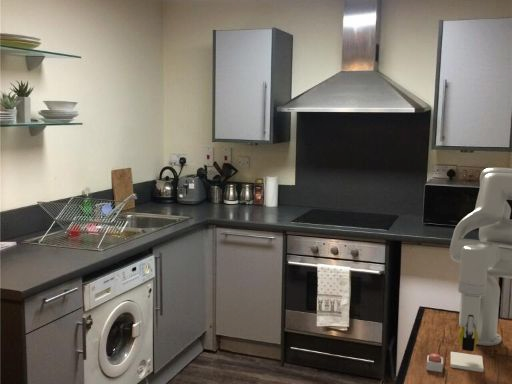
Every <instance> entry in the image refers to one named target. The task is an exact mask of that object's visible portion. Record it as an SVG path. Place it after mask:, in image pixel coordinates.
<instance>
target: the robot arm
mask: <svg viewBox="0 0 512 384" xmlns="http://www.w3.org/2000/svg"><path fill="white" fill-rule="evenodd" d="M479 175H480V176H479V191H478V194H477V199H476V203H475V208H474V210H473V211H472V212H470V213H468V214H467V215H466V216H464V217H463V218H462V219H460V221H459V222H458V223H457V225H456V226H455V228H454V230H453V234H452V238H451V240H450V245H449V258H451V260H452V261H454V262H456V263H460V264H459V275H458V286H457V288H458V289H457V291H458V292H459V293H460V294H461V295H460V306H459V315H458V317H459V318H458V319H459V320H458V323H459V327H460V328H461V327H464V326H465V327H464V336H463V343H462V346H461V350H462V351H466V352H468V351H469V352H474V351H475V347H474V342H475V338H474V331H475V329H476V330H477V333H478V342H477V344H476V345H479V346H490V347H491V346H497V345H499V344H500V343H501V342H502V337H501V335H500V334H499V333H497V332H498V322H499V307H500V296H501V288H500V285H499V282H498V281H497V279H496V277H498V278H499V277H500V278H504V279H505V278H506V279H510V280H511V279H512V219H510V218H511V212H512V208H511V206H510V204H509V203H508V201H507V200H509V201H512V168H509V167H487V168H485V169H483V170H482V171H481V172H480V174H479ZM476 229H478V239H479V240H478V239H470V238H464V237H466V235H467V234H468V233H470V232H471V231H473V230H476ZM466 325H468V327H466ZM466 329H468V331H466Z"/></svg>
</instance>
